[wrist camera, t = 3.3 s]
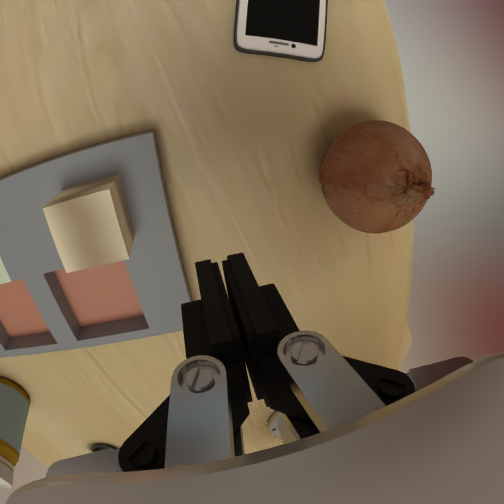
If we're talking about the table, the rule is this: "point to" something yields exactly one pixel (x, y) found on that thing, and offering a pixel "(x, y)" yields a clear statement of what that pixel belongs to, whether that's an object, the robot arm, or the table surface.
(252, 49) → the cell phone
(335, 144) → the onion
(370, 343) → the table surface
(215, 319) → the robot arm
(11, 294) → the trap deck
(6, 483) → the bottle
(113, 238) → the maple block
